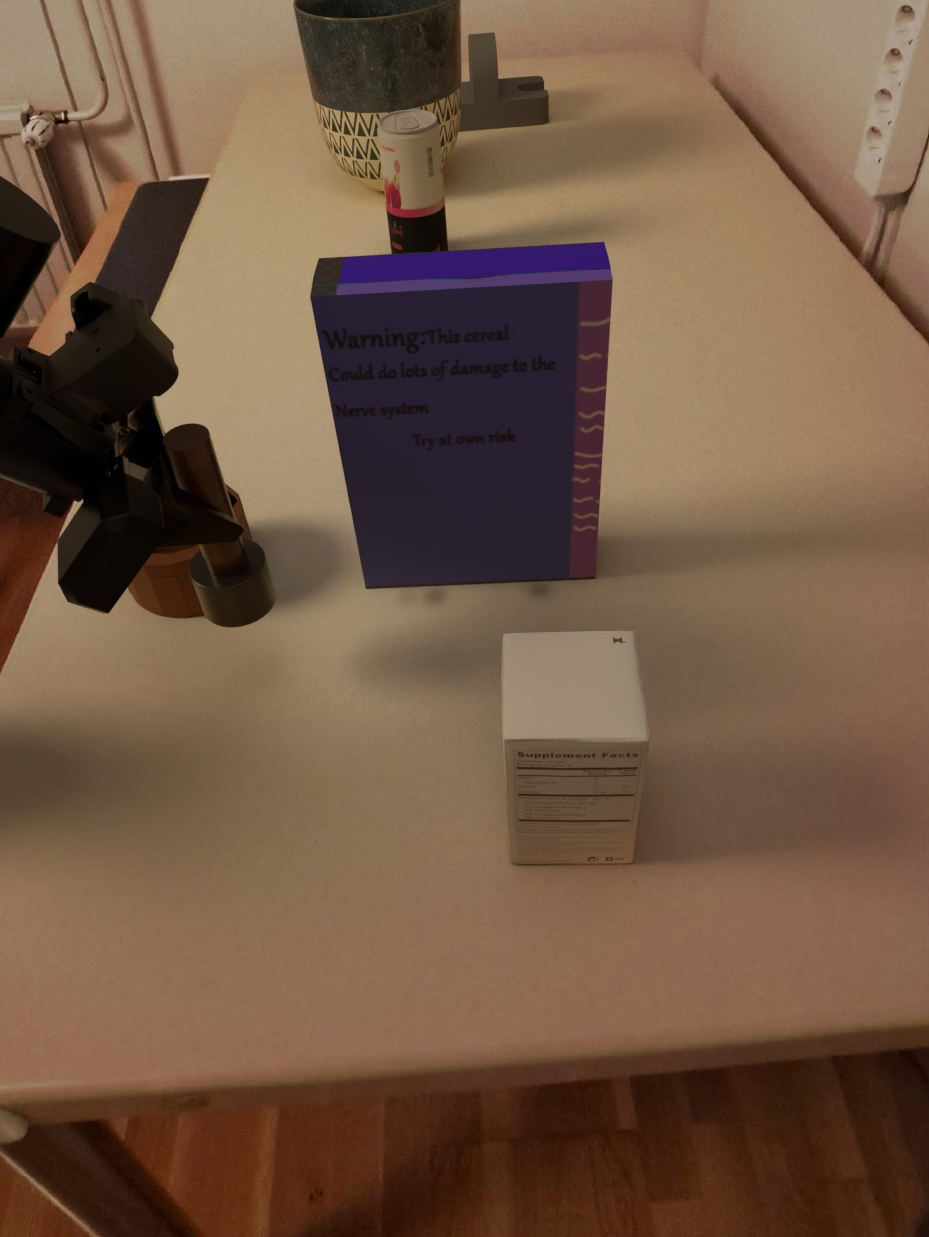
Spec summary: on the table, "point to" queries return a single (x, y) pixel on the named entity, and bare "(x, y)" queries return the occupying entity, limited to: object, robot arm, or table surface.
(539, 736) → the white packaging box
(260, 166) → the table surface
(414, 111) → the beverage can
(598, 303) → the cereal box
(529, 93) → the bracket
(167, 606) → the bowl
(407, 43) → the planter
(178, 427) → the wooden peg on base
